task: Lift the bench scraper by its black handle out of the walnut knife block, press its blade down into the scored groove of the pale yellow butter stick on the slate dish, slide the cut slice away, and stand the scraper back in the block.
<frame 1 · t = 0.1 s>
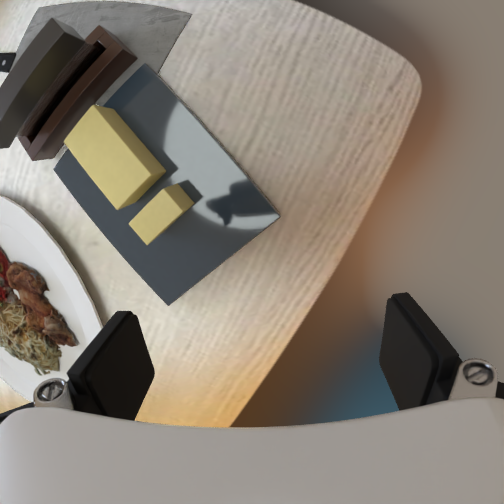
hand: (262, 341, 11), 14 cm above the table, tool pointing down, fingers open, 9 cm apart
bench scraper: (49, 90, 16), in the knife block
knife block: (80, 96, 20), on the table
cleaver: (46, 41, 18), on the table, touching butter dish, knife block
butter slice: (169, 208, 22), point 1 cm above the table, touching butter dish
plated food: (17, 313, 28), on the table
butter dish: (154, 185, 22), on the table
butter stick: (123, 154, 21), point 1 cm above the table, touching butter dish
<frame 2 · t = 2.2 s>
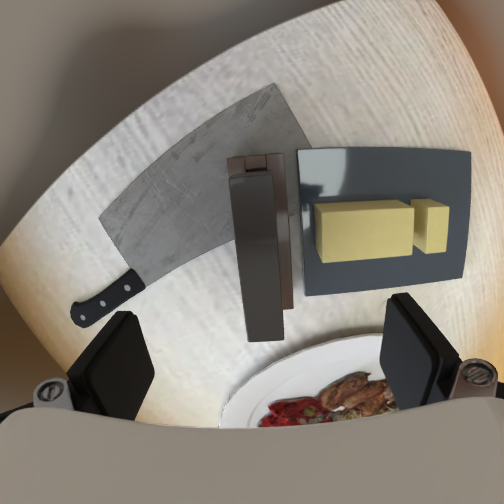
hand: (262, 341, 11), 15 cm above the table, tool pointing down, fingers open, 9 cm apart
bench scraper: (261, 242, 20), in the knife block, touching cleaver
knife block: (263, 227, 24), on the table
cleaver: (154, 228, 25), on the table, touching butter dish, bench scraper, knife block
butter slice: (419, 220, 22), point 1 cm above the table, touching butter dish
plated food: (343, 421, 32), on the table
butter dish: (393, 219, 23), on the table
butter stick: (357, 223, 23), point 1 cm above the table, touching butter dish
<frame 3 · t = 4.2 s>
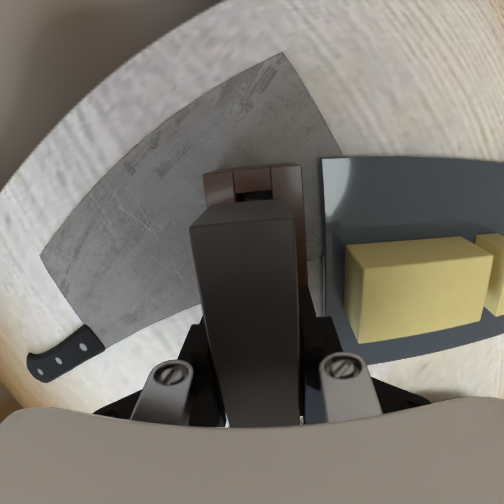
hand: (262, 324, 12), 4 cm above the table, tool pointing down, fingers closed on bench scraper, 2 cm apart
bench scraper: (261, 317, 12), in the knife block, touching gripper
knife block: (265, 278, 16), on the table
cleaver: (108, 273, 17), on the table, touching butter dish, knife block
butter slice: (483, 262, 14), point 1 cm above the table, touching butter dish
butter dish: (450, 261, 15), on the table
butter stick: (406, 272, 14), point 1 cm above the table, touching butter dish
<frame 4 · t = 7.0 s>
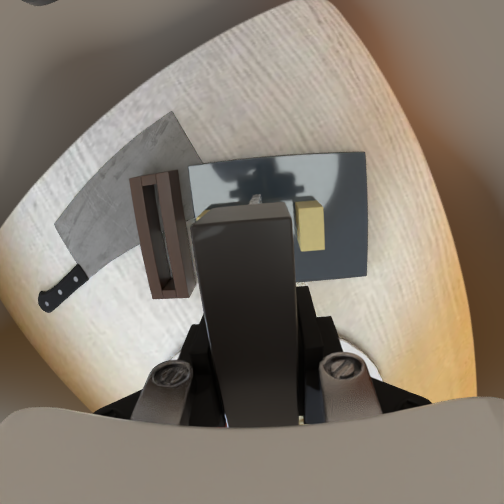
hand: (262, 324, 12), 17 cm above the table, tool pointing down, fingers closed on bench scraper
bench scraper: (262, 321, 12), point 17 cm above the table, touching gripper
knife block: (168, 231, 29), on the table
cleaver: (92, 232, 30), on the table, touching butter dish, knife block
butter slice: (307, 220, 27), point 1 cm above the table, touching butter dish
plated food: (269, 410, 36), on the table
butter dish: (282, 220, 28), on the table
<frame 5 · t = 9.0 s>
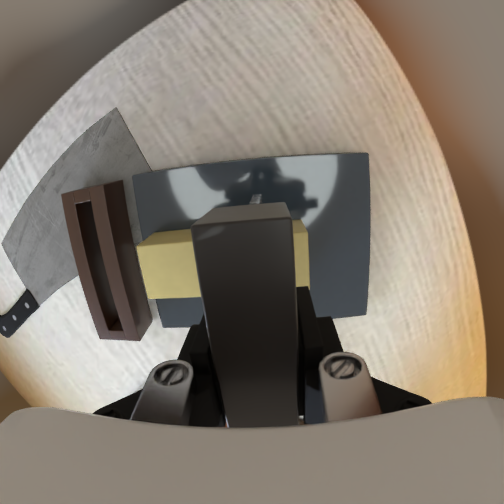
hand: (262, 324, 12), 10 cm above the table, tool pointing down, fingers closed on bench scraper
bench scraper: (263, 321, 12), point 10 cm above the table, touching gripper
knife block: (115, 256, 22), on the table
cleaver: (38, 254, 23), on the table
butter slice: (288, 246, 20), point 1 cm above the table, touching butter dish
butter dish: (256, 245, 21), on the table
butter stick: (204, 252, 21), point 1 cm above the table, touching butter dish
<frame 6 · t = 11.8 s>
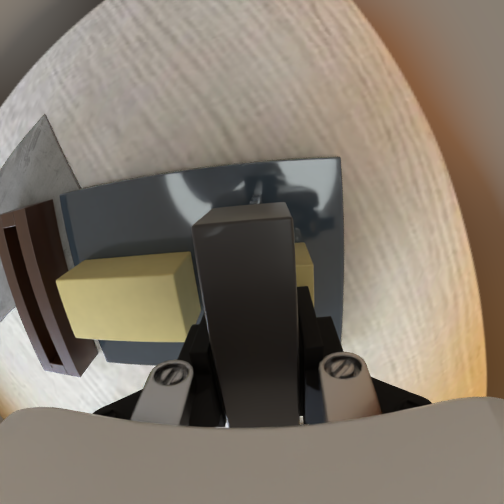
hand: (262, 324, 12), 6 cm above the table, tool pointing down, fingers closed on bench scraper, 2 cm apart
bench scraper: (263, 321, 12), point 5 cm above the table, touching butter slice, gripper
knife block: (54, 283, 18), on the table
butter slice: (287, 276, 16), point 1 cm above the table, touching butter dish, bench scraper
butter dish: (199, 276, 17), on the table
butter stick: (139, 284, 17), point 1 cm above the table, touching butter dish
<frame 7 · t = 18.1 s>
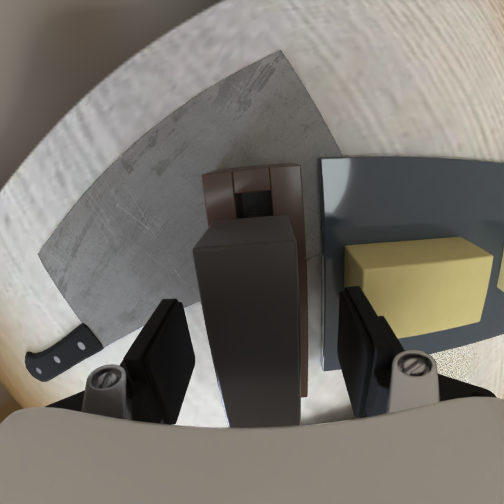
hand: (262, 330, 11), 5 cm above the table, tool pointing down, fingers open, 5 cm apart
bench scraper: (264, 327, 12), in the knife block
knife block: (264, 279, 16), on the table
cleaver: (106, 272, 17), on the table, touching butter dish, knife block
butter dish: (450, 261, 15), on the table
butter stick: (405, 272, 14), point 1 cm above the table, touching butter dish
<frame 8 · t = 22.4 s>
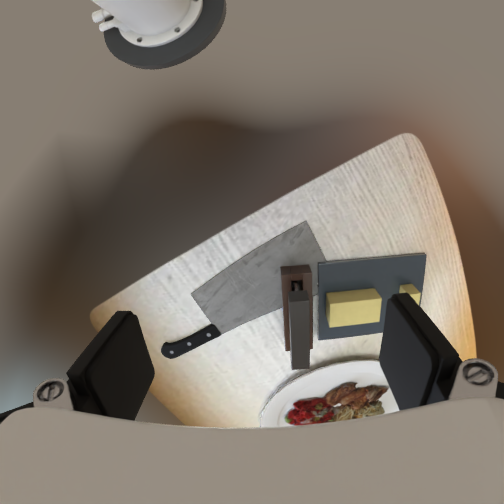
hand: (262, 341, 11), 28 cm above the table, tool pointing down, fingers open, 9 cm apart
bench scraper: (297, 318, 37), in the knife block, touching cleaver
knife block: (296, 304, 41), on the table
cleaver: (229, 301, 42), on the table, touching butter dish, bench scraper, knife block
butter slice: (404, 295, 39), point 1 cm above the table, touching butter dish
plated food: (340, 414, 49), on the table
butter dish: (372, 296, 41), on the table
butter stick: (350, 301, 40), point 1 cm above the table, touching butter dish
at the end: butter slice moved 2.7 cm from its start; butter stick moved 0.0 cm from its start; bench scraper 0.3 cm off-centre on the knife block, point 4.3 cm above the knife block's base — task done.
